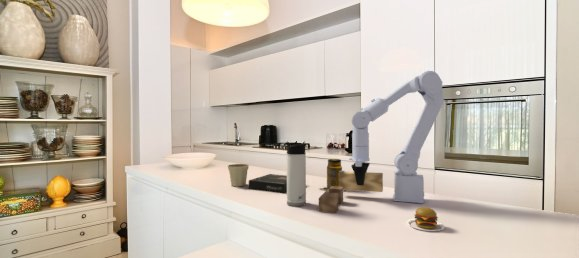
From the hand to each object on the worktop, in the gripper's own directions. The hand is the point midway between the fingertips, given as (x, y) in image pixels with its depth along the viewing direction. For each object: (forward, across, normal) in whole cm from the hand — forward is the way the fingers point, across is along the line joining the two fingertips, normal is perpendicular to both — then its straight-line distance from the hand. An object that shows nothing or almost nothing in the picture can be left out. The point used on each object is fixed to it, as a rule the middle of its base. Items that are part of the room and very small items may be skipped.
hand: (360, 184), depth 106 cm
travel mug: (+5, +15, -19) cm, 25 cm away
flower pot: (+5, -5, -52) cm, 53 cm away
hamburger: (+6, +24, +19) cm, 31 cm away
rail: (+2, 0, 0) cm, 2 cm away
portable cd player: (+5, -7, -35) cm, 36 cm away
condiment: (+5, -10, -12) cm, 16 cm away
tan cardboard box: (+5, +14, -7) cm, 16 cm away
